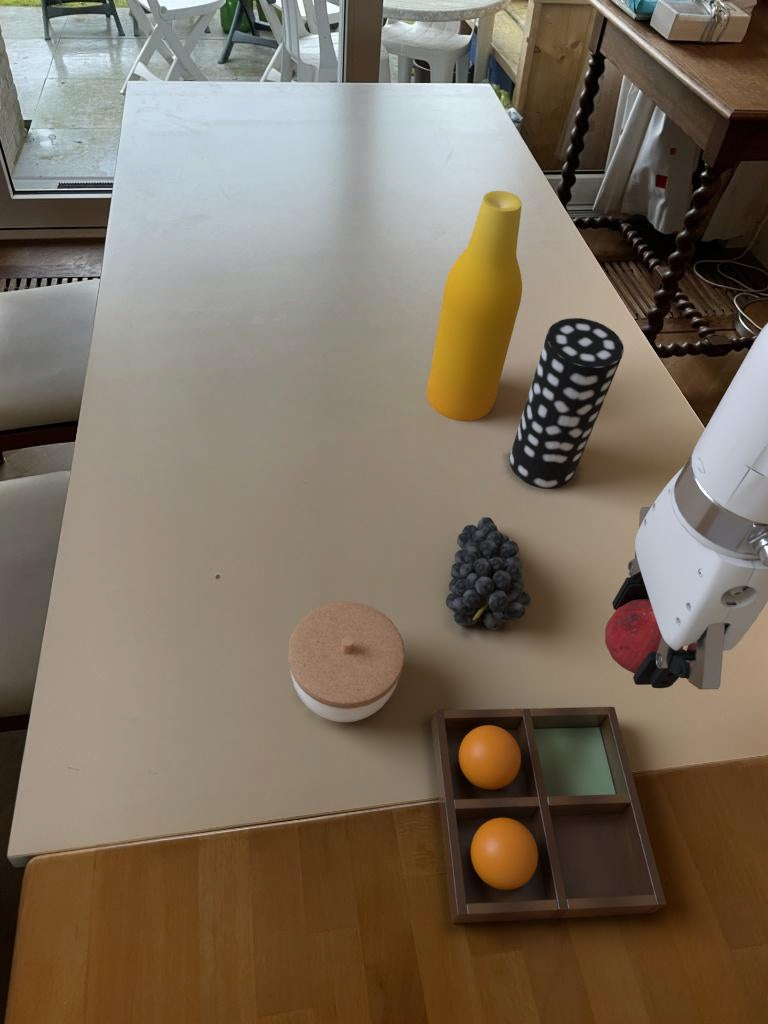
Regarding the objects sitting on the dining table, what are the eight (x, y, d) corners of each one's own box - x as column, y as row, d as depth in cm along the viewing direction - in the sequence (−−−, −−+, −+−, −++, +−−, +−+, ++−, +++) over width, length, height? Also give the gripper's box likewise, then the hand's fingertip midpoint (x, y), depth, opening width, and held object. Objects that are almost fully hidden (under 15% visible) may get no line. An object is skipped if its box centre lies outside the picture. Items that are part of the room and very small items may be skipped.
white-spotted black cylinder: (543, 502, 96) (590, 378, 80) (494, 462, 99) (531, 336, 84) (586, 472, 100) (639, 348, 84) (538, 434, 103) (580, 308, 88)
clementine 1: (508, 739, 75) (521, 714, 71) (518, 797, 72) (532, 775, 67) (450, 740, 75) (460, 715, 70) (458, 799, 71) (468, 777, 67)
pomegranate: (593, 684, 63) (625, 633, 56) (593, 623, 66) (624, 569, 60) (666, 698, 62) (706, 649, 56) (662, 636, 66) (700, 583, 60)
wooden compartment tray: (602, 723, 78) (614, 706, 75) (650, 915, 67) (666, 904, 64) (429, 727, 76) (435, 710, 73) (450, 925, 65) (457, 914, 62)
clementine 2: (523, 828, 70) (538, 807, 66) (534, 896, 67) (551, 878, 62) (461, 830, 69) (472, 809, 65) (470, 899, 66) (482, 881, 62)
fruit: (477, 477, 85) (472, 591, 75) (543, 504, 87) (546, 617, 77) (441, 522, 91) (432, 632, 81) (503, 546, 93) (502, 656, 83)
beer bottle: (441, 369, 110) (478, 170, 87) (503, 393, 108) (556, 195, 85) (414, 409, 104) (446, 206, 82) (478, 434, 102) (528, 234, 80)
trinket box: (318, 625, 82) (320, 575, 75) (412, 665, 80) (423, 617, 73) (269, 712, 76) (266, 666, 68) (371, 757, 74) (379, 714, 66)
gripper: (858, 617, 43) (721, 747, 57) (749, 401, 54) (656, 555, 68) (728, 617, 42) (622, 749, 56) (644, 399, 53) (572, 555, 67)
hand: (641, 642), depth 62 cm, fingers closed on pomegranate, 5 cm apart
